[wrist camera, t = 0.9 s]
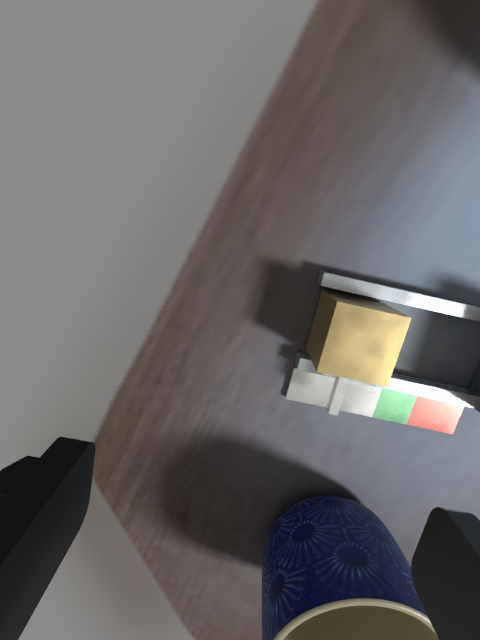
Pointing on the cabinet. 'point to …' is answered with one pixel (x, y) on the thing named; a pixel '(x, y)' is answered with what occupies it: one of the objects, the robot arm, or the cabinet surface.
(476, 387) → the grey open frame tray
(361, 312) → the tan gold cube
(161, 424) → the cabinet surface
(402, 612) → the planter
